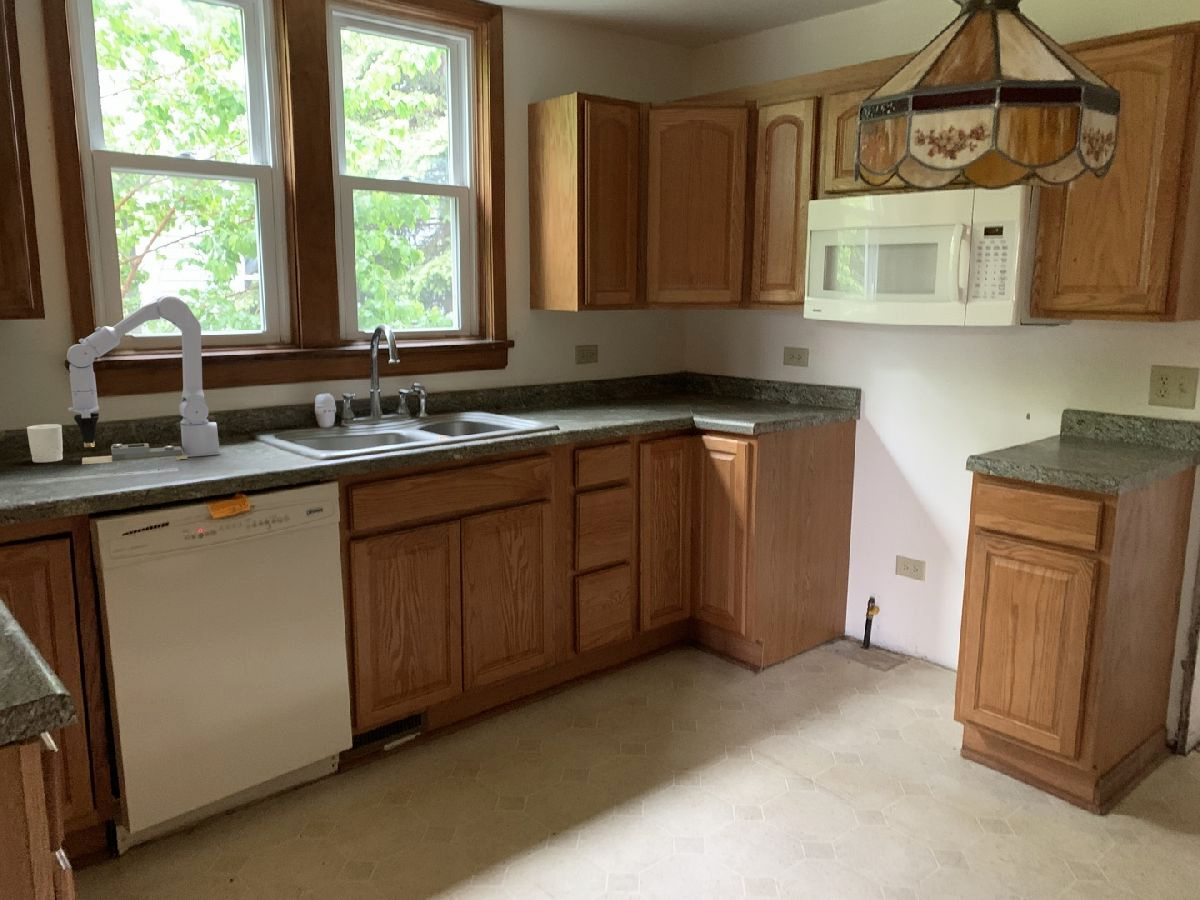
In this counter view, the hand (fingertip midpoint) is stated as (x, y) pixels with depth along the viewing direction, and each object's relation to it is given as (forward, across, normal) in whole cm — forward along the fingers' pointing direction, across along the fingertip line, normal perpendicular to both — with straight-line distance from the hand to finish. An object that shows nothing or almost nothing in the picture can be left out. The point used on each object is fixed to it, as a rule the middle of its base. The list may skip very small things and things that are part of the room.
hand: (89, 441), depth 239 cm
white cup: (+6, -6, -10) cm, 13 cm away
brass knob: (+1, 0, 0) cm, 1 cm away
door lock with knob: (+6, 0, +11) cm, 12 cm away
